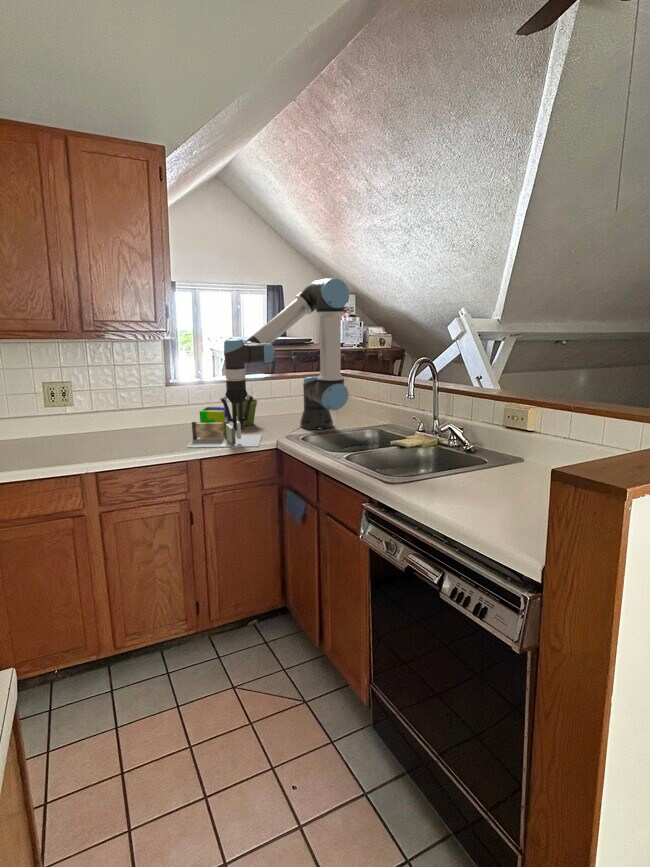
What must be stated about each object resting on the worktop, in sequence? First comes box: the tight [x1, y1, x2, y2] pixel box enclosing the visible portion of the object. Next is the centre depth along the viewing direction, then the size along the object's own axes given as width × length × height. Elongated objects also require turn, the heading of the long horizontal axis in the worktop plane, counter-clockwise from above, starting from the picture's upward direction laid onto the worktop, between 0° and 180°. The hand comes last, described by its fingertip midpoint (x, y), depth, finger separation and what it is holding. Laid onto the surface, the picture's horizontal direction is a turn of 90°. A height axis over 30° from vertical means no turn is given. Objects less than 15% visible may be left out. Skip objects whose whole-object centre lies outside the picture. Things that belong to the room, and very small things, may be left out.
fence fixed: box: [191, 421, 229, 440], centre depth 207 cm, size 15×2×8 cm, turn 93°
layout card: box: [186, 434, 263, 449], centre depth 205 cm, size 28×18×1 cm, turn 93°
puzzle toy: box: [199, 406, 231, 435], centre depth 220 cm, size 10×10×10 cm
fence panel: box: [226, 423, 236, 444], centre depth 201 cm, size 11×1×6 cm, turn 24°
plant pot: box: [236, 398, 259, 426], centre depth 234 cm, size 12×12×11 cm
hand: (238, 437), depth 201 cm, fingers closed
